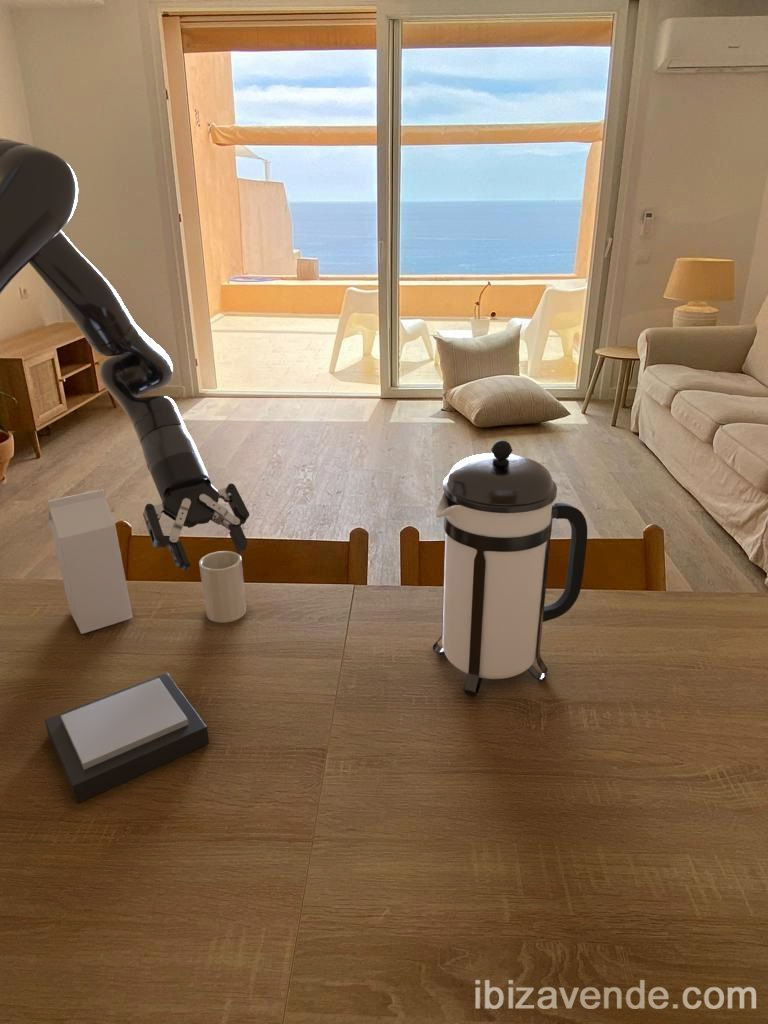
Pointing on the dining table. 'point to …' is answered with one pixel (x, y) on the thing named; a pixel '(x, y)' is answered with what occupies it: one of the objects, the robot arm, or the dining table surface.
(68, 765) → the scale
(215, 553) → the cup
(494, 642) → the coffee press
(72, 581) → the milk carton
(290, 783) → the dining table surface
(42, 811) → the dining table surface
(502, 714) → the dining table surface
